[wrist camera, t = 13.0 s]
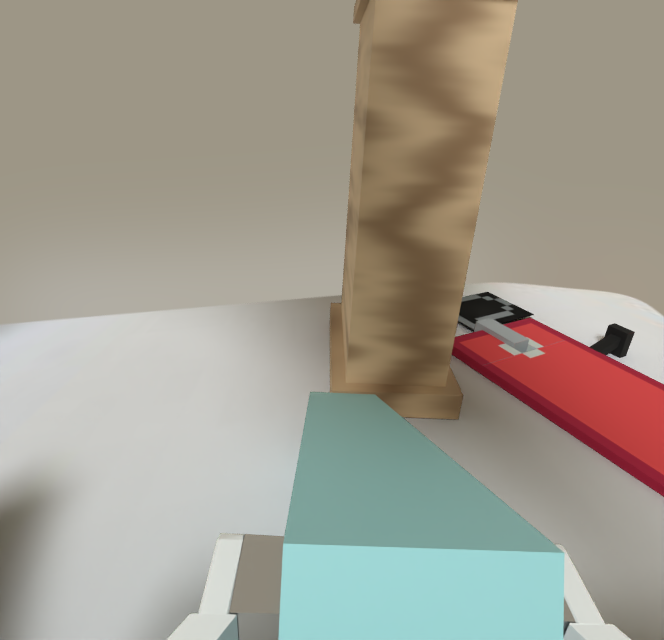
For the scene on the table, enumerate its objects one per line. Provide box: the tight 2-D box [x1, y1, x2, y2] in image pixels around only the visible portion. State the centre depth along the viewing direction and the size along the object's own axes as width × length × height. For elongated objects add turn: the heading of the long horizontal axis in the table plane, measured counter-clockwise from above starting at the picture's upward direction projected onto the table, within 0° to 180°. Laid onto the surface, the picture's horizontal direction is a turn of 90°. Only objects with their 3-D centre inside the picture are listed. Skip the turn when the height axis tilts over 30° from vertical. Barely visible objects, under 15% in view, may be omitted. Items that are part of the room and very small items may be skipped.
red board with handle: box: [452, 292, 664, 497], centre depth 39 cm, size 30×3×15 cm
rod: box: [278, 392, 565, 640], centre depth 17 cm, size 4×22×4 cm, turn 0°
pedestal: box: [330, 0, 518, 419], centre depth 34 cm, size 9×15×26 cm, turn 0°
